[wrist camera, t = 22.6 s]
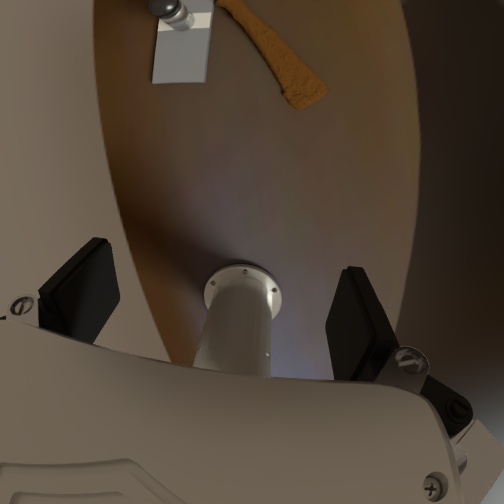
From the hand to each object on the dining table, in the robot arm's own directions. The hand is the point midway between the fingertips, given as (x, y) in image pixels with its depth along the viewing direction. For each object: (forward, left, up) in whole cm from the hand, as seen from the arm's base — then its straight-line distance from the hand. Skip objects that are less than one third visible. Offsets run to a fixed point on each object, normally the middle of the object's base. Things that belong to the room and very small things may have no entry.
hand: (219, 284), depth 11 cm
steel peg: (+19, +11, -27) cm, 35 cm away
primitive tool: (+16, -1, -29) cm, 33 cm away
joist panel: (+19, +11, -28) cm, 36 cm away
